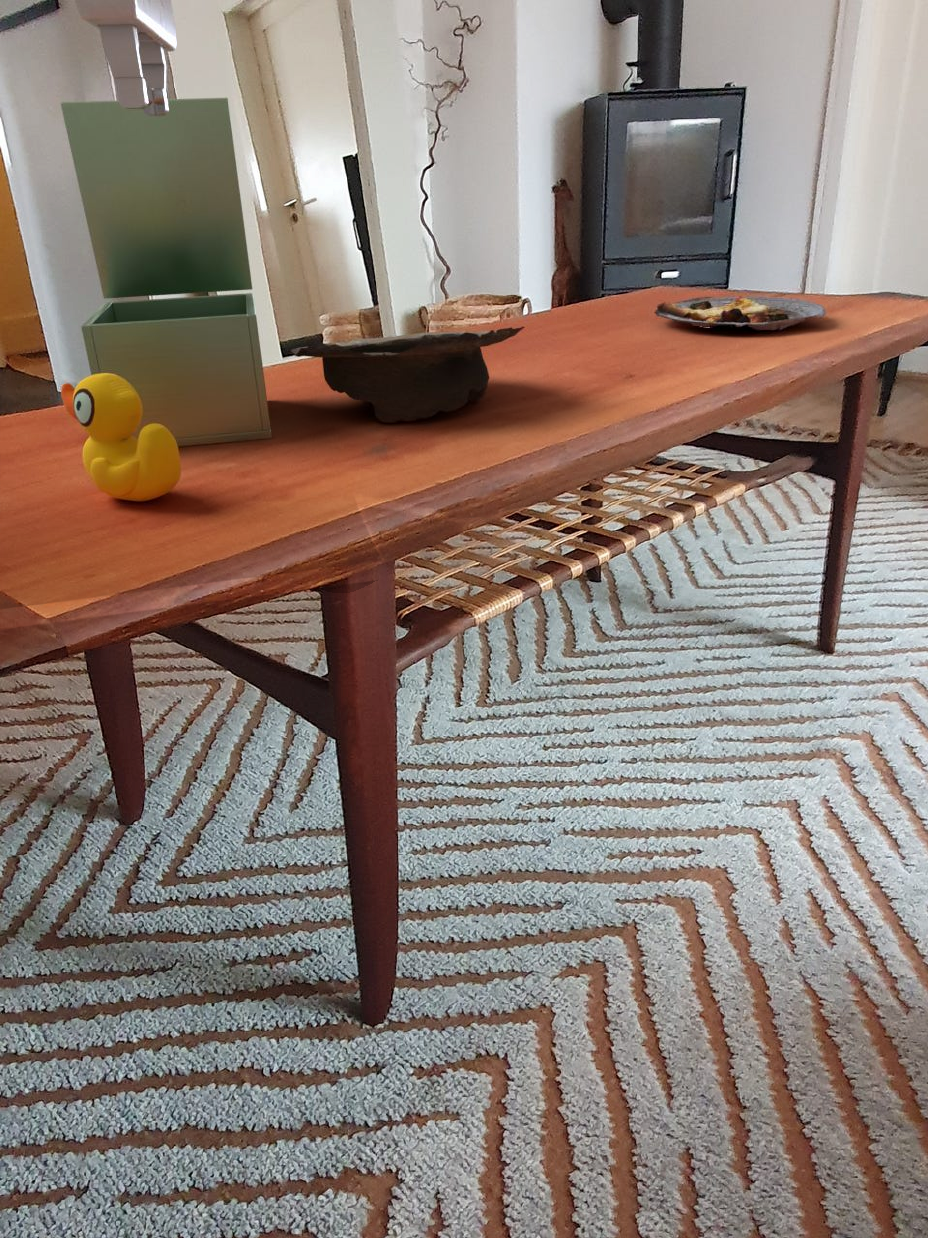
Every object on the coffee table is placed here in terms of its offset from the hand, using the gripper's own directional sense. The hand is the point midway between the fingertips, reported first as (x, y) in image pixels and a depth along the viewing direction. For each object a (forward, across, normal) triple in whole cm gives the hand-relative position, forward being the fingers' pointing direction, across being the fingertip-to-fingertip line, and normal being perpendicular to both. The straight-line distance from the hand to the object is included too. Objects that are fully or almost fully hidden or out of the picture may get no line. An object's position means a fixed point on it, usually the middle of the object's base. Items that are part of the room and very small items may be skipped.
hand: (146, 112), depth 68 cm
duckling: (+28, +3, -6) cm, 29 cm away
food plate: (+28, -63, +73) cm, 100 cm away
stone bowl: (+28, -24, +19) cm, 42 cm away
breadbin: (+28, -21, -4) cm, 35 cm away
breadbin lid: (+7, -28, -4) cm, 29 cm away
